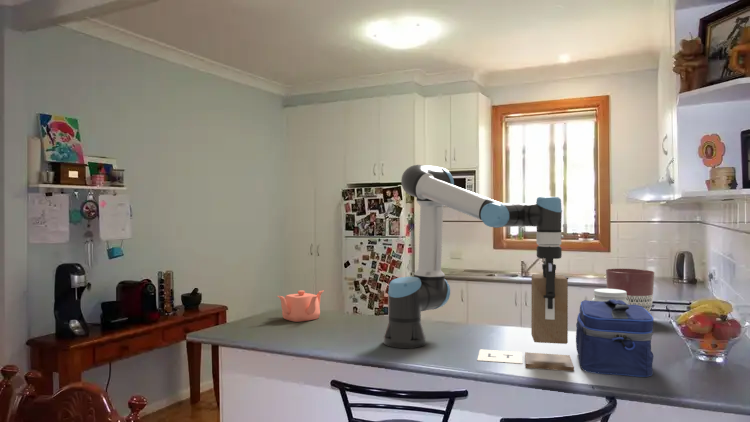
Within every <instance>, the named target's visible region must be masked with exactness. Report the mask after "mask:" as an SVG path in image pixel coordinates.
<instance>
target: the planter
mask: <svg viewBox="0 0 750 422" xmlns="http://www.w3.org/2000/svg"><path fill="white" fill-rule="evenodd" d="M605 279H606V289H618V290H624V291H626V292H627V297H626V299H627V300H628V302H629V305H639V306H641V307H643V308H644V309H646V310H647V311H648V312H649V313H650V312H651V311H650V310H651V308H652V305H653V300H654V299H653V298H654V284H655V283H654V282H655V271H652V270H647V269H639V268H637V269H636V268H607V269H606V270H605Z"/></svg>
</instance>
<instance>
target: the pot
mask: <svg viewBox="0 0 750 422" xmlns="http://www.w3.org/2000/svg"><path fill="white" fill-rule="evenodd" d="M323 292H325V290H319V291H318V292H317V294H315V293H314V294H313V293H310V292H309V293H307V292H306V291H305V290H303V289H302V290H301V289H300V290H297V293H289V294H285V296H282V295H277V297H278V298H279V299H280V304H281V312H282V313H281V314H282V315H281V316H282V318H283V319H284V320H287V321H291V322H295V323H296V322H307V321H314V320H318V319H319V318H320V315H321V308H320V305H321V296H322V294H323Z"/></svg>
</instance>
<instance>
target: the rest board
mask: <svg viewBox="0 0 750 422" xmlns="http://www.w3.org/2000/svg"><path fill="white" fill-rule="evenodd" d="M524 359H525V360H524V362H525V368H526V369H539V370H541V369H542V370H550V371H551V370H554V371H565V372H567V371H568V372H575V366H574V363H573V361H572V357H571V355H570V354H558V353H557V354H555V353H544V352H543V353H541V352H526V351H525V354H524Z"/></svg>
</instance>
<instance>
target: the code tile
mask: <svg viewBox="0 0 750 422" xmlns="http://www.w3.org/2000/svg"><path fill="white" fill-rule="evenodd" d="M477 362H490V363H492V362H493V363H503V362H505V364H520V365H522V364H523V352H522V351H511V350H510V351H509V350H495V349H494V350H493V349H482V348H481V349H479V351H478V356H477Z"/></svg>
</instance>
